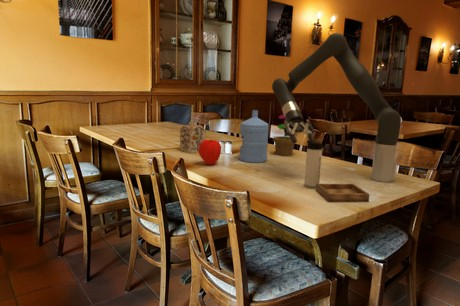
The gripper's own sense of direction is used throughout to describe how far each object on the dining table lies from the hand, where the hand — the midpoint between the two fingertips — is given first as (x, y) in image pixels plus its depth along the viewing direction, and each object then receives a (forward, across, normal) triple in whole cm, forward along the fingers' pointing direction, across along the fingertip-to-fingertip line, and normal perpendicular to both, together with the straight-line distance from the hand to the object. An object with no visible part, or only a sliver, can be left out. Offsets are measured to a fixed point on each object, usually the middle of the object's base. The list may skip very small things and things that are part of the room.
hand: (303, 142), depth 158 cm
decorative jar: (-42, -30, +68) cm, 85 cm away
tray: (+29, +4, -4) cm, 29 cm away
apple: (-16, -30, +42) cm, 54 cm away
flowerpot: (-26, +22, +52) cm, 62 cm away
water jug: (-19, -3, +45) cm, 49 cm away
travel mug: (+19, 0, +7) cm, 20 cm away
